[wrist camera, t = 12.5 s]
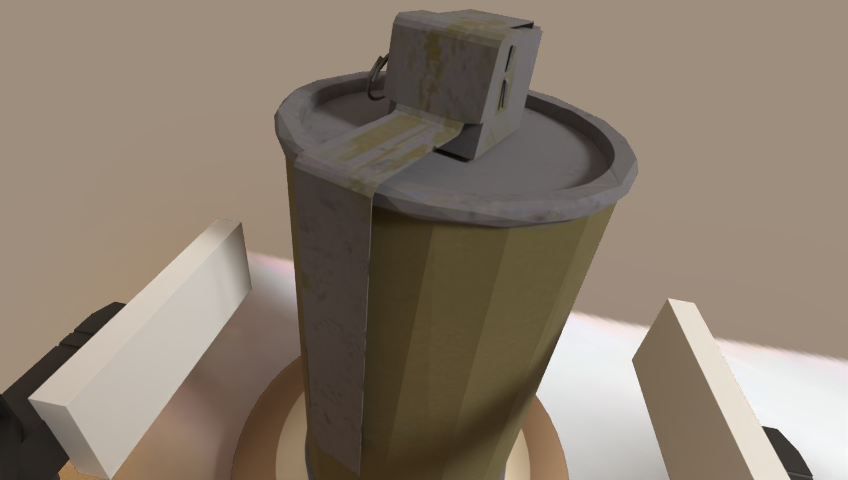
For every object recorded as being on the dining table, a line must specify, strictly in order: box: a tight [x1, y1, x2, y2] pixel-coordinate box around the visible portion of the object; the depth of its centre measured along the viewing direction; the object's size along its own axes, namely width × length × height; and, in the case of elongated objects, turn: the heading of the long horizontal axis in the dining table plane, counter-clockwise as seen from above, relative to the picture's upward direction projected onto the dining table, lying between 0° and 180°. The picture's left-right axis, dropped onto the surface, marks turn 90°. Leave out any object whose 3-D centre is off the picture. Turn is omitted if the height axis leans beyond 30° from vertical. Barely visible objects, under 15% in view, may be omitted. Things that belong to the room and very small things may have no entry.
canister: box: [274, 9, 638, 480], centre depth 17 cm, size 11×10×20 cm
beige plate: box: [231, 356, 569, 480], centre depth 23 cm, size 17×17×2 cm
